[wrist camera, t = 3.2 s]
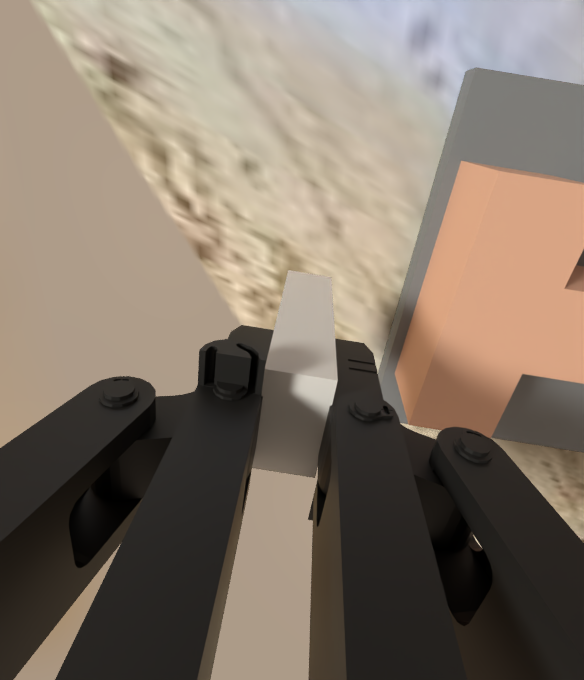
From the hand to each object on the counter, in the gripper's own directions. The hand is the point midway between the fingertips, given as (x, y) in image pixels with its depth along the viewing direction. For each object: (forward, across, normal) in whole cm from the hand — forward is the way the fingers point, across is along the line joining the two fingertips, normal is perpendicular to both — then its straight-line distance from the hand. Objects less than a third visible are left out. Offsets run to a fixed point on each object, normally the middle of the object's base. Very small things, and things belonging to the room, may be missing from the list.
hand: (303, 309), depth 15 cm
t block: (+4, +10, 0) cm, 11 cm away
